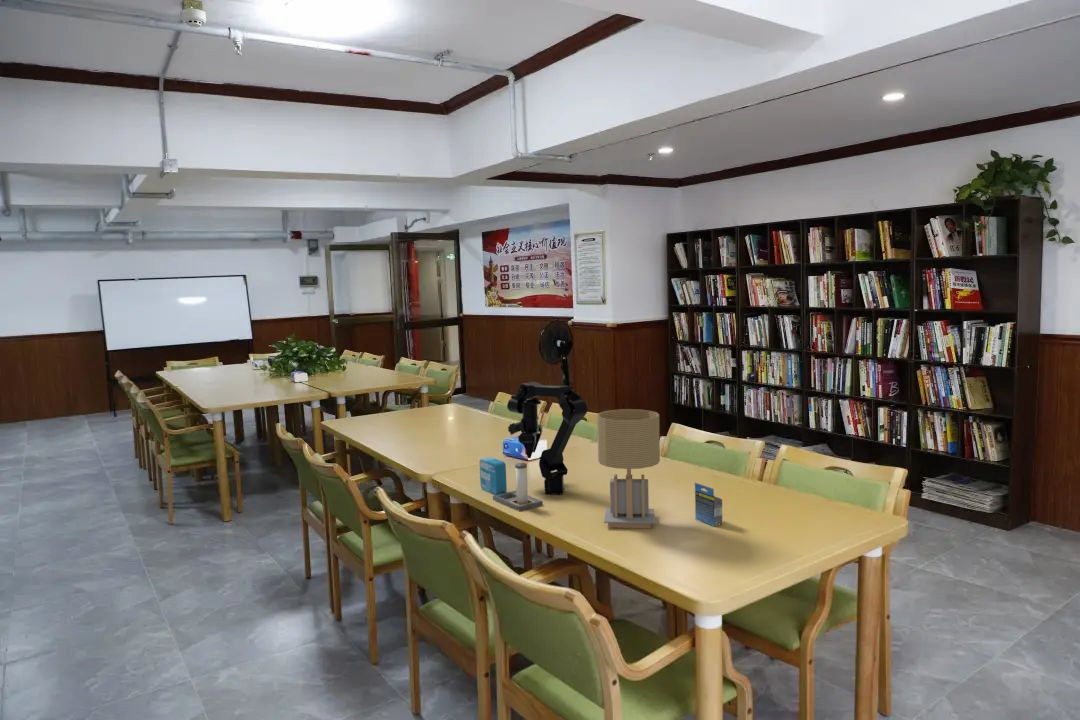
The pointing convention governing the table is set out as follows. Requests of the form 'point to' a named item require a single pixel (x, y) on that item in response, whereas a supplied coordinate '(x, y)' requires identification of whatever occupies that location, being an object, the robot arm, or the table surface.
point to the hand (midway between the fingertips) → (531, 455)
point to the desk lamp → (628, 463)
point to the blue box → (493, 475)
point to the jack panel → (513, 502)
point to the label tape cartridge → (707, 506)
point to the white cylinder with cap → (521, 483)
